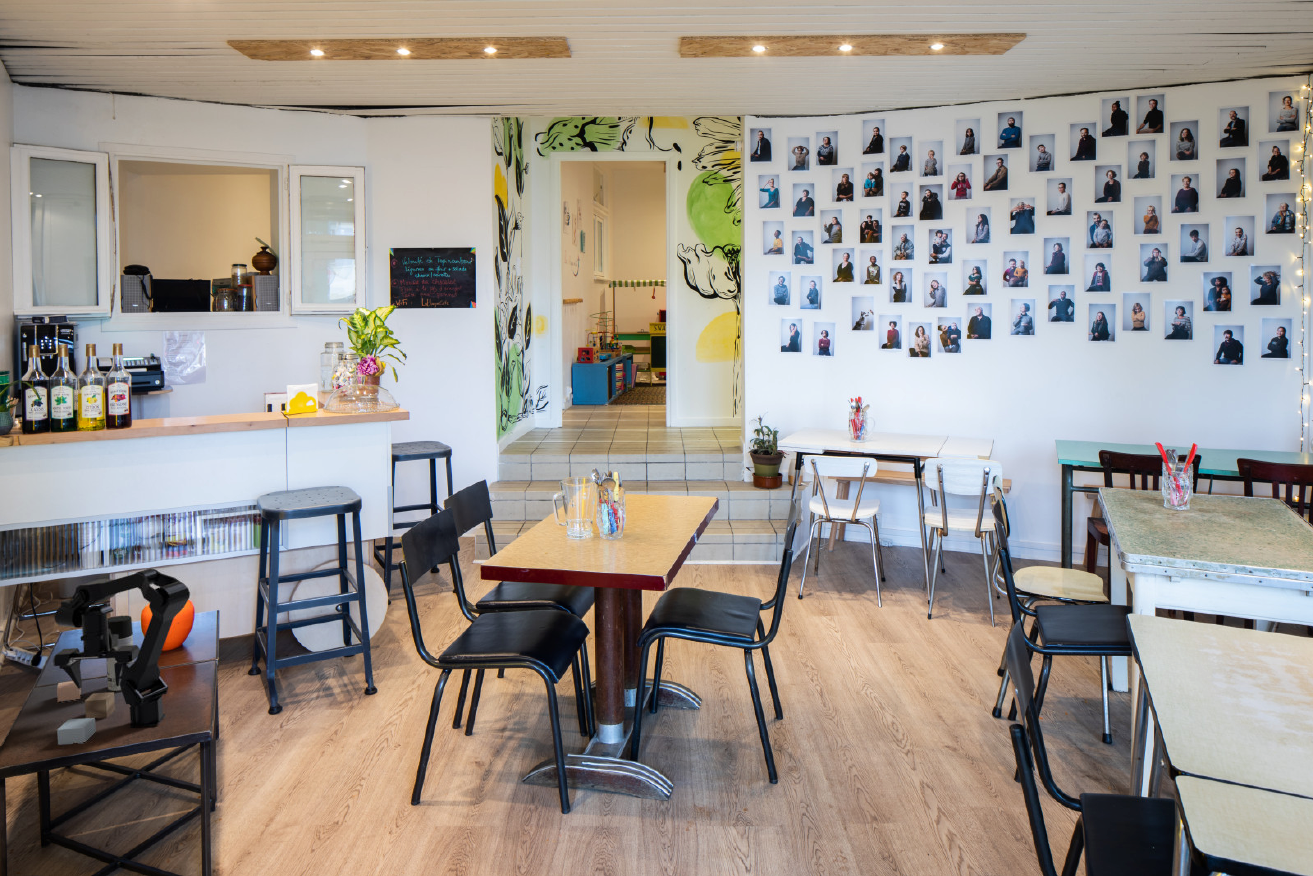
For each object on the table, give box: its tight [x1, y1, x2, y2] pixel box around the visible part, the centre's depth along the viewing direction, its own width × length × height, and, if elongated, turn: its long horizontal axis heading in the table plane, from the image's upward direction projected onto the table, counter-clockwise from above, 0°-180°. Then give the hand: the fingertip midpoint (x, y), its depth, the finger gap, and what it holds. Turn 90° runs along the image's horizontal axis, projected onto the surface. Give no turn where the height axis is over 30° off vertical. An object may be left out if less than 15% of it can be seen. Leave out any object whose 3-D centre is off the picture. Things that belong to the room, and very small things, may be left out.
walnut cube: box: [84, 691, 116, 719], centre depth 237 cm, size 5×5×5 cm
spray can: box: [105, 615, 135, 692], centre depth 255 cm, size 7×7×20 cm
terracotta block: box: [56, 680, 82, 703], centre depth 248 cm, size 5×5×4 cm
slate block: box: [56, 717, 97, 746], centre depth 223 cm, size 6×6×4 cm
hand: (99, 687), depth 237 cm, fingers open, 9 cm apart
